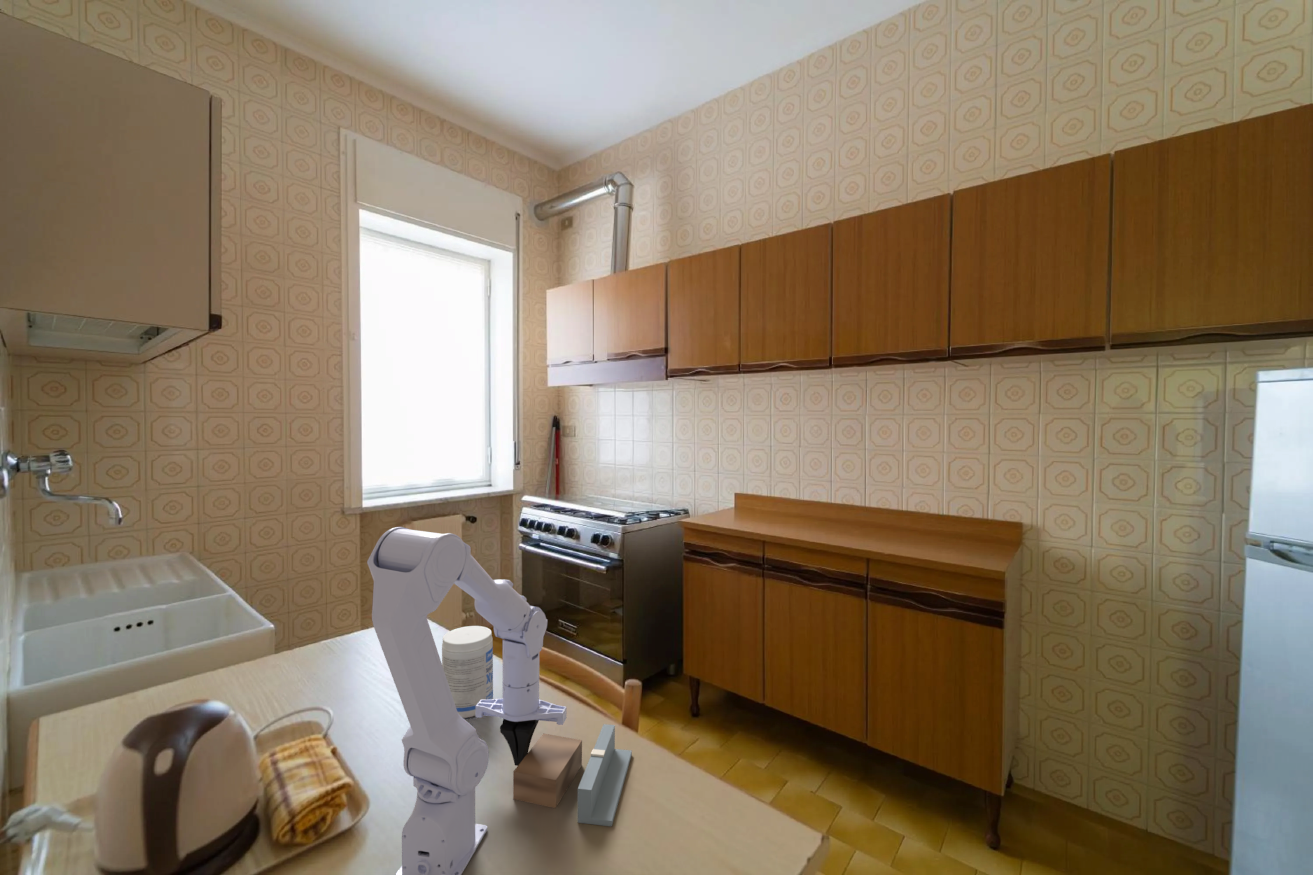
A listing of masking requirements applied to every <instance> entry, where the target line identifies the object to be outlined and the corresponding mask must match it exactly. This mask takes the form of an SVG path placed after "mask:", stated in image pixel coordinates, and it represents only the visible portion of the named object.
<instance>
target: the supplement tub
mask: <svg viewBox="0 0 1313 875" xmlns="http://www.w3.org/2000/svg"><path fill="white" fill-rule="evenodd" d="M492 635H493V634H492V630H491V629H490V628H488V627H486V626H481V625H469V626H462V627H457V628H455V629H452V630H449V631H447V632H446V633H445V634H444V635H443V636H442V643H441V663H442V666H443V669H444V672H445V675H446V678H447V682H448V685H449V688H450V691H451V694H452V697H453V700H454V703H455V706H456V709H457V712H458V714H459V715H460V716H461V717H462V718H463V719H466V718H472V717H476V705H477V704H478V702H479V701H480V700H481V699H482V700H491V699H494V660H493V659H494V657H493V656H494V655H493V654H494V652H493V651H494V646H493V642H494V640H493V636H492Z"/></svg>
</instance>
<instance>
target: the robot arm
mask: <svg viewBox="0 0 1313 875" xmlns="http://www.w3.org/2000/svg"><path fill="white" fill-rule="evenodd" d="M471 549H472V548H471V546H470V545H469V544H467V543H466V542H464V541H463V539H462V538H461V537H460V536H459V535H458V534H455V533H451V532H447V533H439V532H432V531H431V532H430V531H425V530H419V529H418V530H417V529H410V528H407V527H404V526H396V527H392V528H389V529H388V530H386V531H385V532H384V533H383V534H382V535H381V536H380V537H379V539H378V540H377V541H376V544H375V545H374V548H373V550H372V551H371V554H370V555H369V557H368V559H367V562H366V563H367V566H368V568H369V571H370V574H371V577H372V580H373V591H372V610H371V621H372V626H373V628H374V632H375V633H376V636H377V639H378V641H379V642H378V643H379V645H380V648H381V650H382V653H383V655H384V658H385V661H386V663H387V666H388V669H389V671H390V675H391V677H392V679H393V683H394V686H395V689H396V690H397V693H398V696H399V698H400V702H401V704H402V706H403V710H404V712H405V714H406V718H407V721H408V722H409V728H408V729H407V730H406V731H405V733H404V735H403V737H402V738H401V743H402V745H403V750H404V752H403V753H404V754H403V769H404V771H405V773H406V774H407V775H408V776H410V777H412V778H413V780H412V781H413V787H414V788H416V791H417V793H416V800H415V804H414V807H413V810H412V811H411V814H410V816H409V817H408V819H407V820H406V822H405V823H404V826H403V827H402V831H401V866H400V867H399V869H398V870H397V871H396V873H395V875H462V874H463V873H464V871H465V870H466V867H467V865H469V862H470V860H471V858H472V857H473V855H474V854H475V852H476V850H477V848H478V847H479V845H480V843H481V841H482V839H483V838H484V836H485V834H486V833H487V831H488V825H486V824H481V823H476V787H477V786H478V785H479V784H480V782H481V781H482V779H483V778H484V776H485V773H486V772H487V768H488V765H489V757H490V751H489V745H488V744H487V742H486V741H485V740H483V739H481V738H480V737H479V735H478V732H477V729H476V728H475V727H474V726H472V724H471V723H469V722H468V721H467V720H466V718H462V717H461V716H460V715H459V714H458V712H457V709H456V706H455V703H454V700H453V697H452V694H451V691H450V688H449V685H448V682H447V678H446V675H445V672H444V669H443V666H442V659H441V658H440V654H439V652H438V648H437V645H436V642H435V638H434V636H433V633H432V629H431V627H430V624H429V621H428V617H427V616H429V614H431V613H433V612H435V611H436V610H437V609H438V608H439V606H441V603H442V602H443V601H444V599H445V598H446V597H447V595H448V593H449V591H450V590H451V588H452V587H453V586H454V585H455V586H457V587H458V588H459V589H461V590H462V591H463V592H465V593H466V594H468V595H469V596H470V597H472V598H473V599H474V604H473V605H474V609H475V611H476V613H478V615H480V616H481V617H482V618H483V619H485V620H486V621H487V622H488V623H489V624H491V625H492V626H493V633H494V636H495V637H496V638H499V639H501V640H502V698H501V697H500V698H493V699H491V700H482V699H481V700H480V701H479V702H478V704H477V705H476V716H475V718H478V719H479V718H483V717H486V716H487V717H495V718H501V719H502V723H501V725H500V727H499V732H500V734H502V735H503V738H504V739H505V741H506V742H507V745H508V747H509V749H510V752H511V756H512V759H513V763H514V766H515V767H517V766H518V765H519V764H520V762H521V761H522V760H523V759H524V757H525V756H526V755H527V754H528V752H529V751H530V750H529V749H530V745H531V742H532V739H533V736H534V733H535V730H536V728H537V725H538V723H539V721H543V722H555V723H556V724H557V725H561V726H563V725H564V723H565V722H566V720H567V711H568V710H567V706H564V705H560V704H559V705H558V704H555V703H552V702H549V701H546V700H542V699H540V652H541V651H542V649H543V646H544V638H545V637H544V636H545V634H546V630H547V628H548V619H547V617H546V614H545V612H544V611H543V610H542V609H541V607H539V606H534V605H530V603H529V602H527V600H528V599H527V597H526V596H524V595H521V594H520V593H518V592H517V590H515V589H514V588H513V586H514V583H513V582H512V581H511V580H510V579H504V578H503V579H500V578H499V579H498V578H497V579H493V578H492V577H491V575H489V573H488V572H487V571H486V570H485V569H484V568H483V567H482V565H481V564H480V563H479V562H478V561H477V560H476V558H474V556H473V555H472V553H471V552H472V551H471Z"/></svg>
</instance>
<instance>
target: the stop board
mask: <svg viewBox="0 0 1313 875" xmlns="http://www.w3.org/2000/svg"><path fill="white" fill-rule="evenodd" d="M615 732H616V725H615V724H607V723H603V725H602V727H601V730H600V732H599V735H598V737H597V739H596V742H595V745H594V747H593V749H592V750H591V752H590V757H589V759H588V763H587V765H586V767H585V770H584V772H583V775H582V777H581V779H580V782H579V784H578V787H577V823H579V824H589V825H596V826H597V825H598V826H604V827H612V826H613V823H614V820H615V816H616V812H617V809H618V806H619V805H618V804H619V803H620V799H621V794H622V791H623V787H624V783H625V780H626V777H627V774H628V769H629V765H630V762H631V759H632V755H633V753H632V752H633V750H631V749H621V748H620V749H618V748H616V747H615V745H616V742H615V741H616V735H615V734H616V733H615Z"/></svg>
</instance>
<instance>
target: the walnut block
mask: <svg viewBox="0 0 1313 875" xmlns="http://www.w3.org/2000/svg"><path fill="white" fill-rule="evenodd" d="M582 766H583V740H582V739H578V738H577V739H576V738H572V737H571V738H570V737H566V736H561V735H555V734H549V733H542V734H541V736H540V737H539V739H537V741H536V743H535V744H534V745H533V746H532V747H531V748H530V750H528V754H527V755H526V756H525V757H524V759H523V760H522V761H521V762H520V764H519V765H518V766H516V768H515V769H514V770H513V772H512V774H513V778H512V779H513V780H512V781H513V782H512V784H513V785H512V789H513V790H512V793H513V794H512V798H513V800H515V801H516V800H517V801H521V802H526V803H528V804H529V803H530V804H535V805H540V806H543V807H549V808H551V809H552V808H553V809H556V808H557V806H558V805H559V804H560V801H561V800H562V798H563V797H564V795H565V794H566V792H567V790H568V789H569V787H570V785H571V784H572V782H573V780H574V779H575V778H576V776H577V774H578V773H579V771H580V769H581V768H582Z"/></svg>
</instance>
